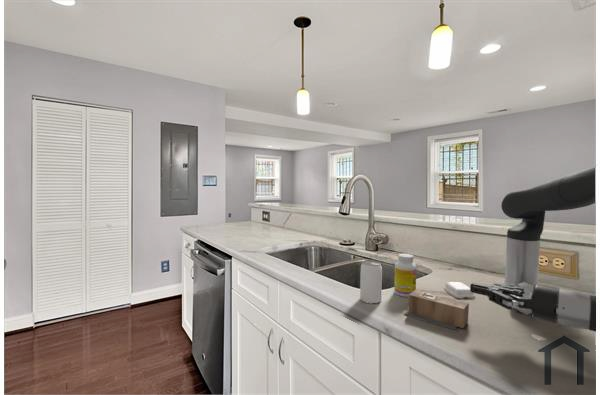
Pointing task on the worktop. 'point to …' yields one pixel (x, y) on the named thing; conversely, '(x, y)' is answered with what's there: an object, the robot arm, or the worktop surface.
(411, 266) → the supplement bottle
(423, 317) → the mat
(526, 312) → the die
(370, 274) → the can
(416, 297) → the brown wooden block
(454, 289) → the soap
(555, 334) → the worktop surface
